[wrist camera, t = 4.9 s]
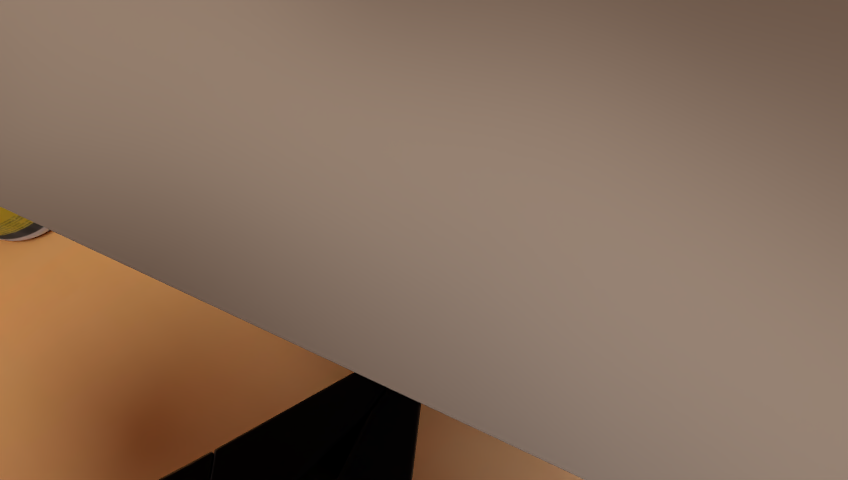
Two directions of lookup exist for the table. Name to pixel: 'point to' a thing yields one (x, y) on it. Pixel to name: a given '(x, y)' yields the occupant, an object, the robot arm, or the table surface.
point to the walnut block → (480, 203)
